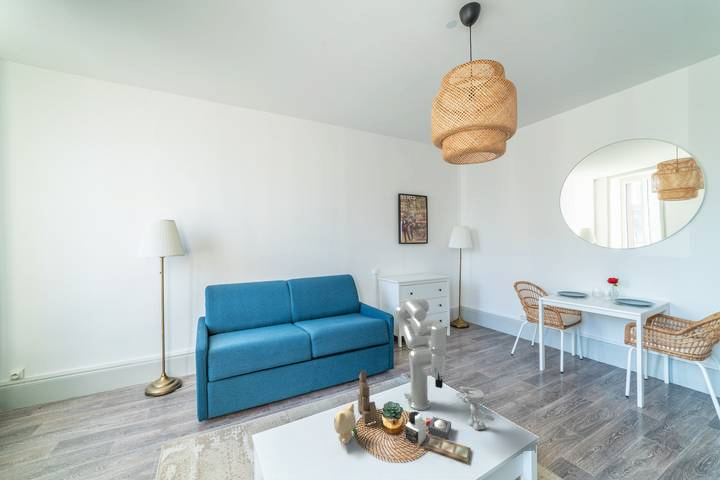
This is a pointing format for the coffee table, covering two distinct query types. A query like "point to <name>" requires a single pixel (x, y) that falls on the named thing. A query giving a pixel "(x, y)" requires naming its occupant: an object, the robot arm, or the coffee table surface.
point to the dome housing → (438, 431)
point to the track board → (448, 449)
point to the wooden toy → (365, 401)
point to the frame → (426, 440)
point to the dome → (440, 424)
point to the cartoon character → (475, 406)
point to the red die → (428, 421)
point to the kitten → (345, 424)
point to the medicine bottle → (415, 428)
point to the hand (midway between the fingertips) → (439, 386)
